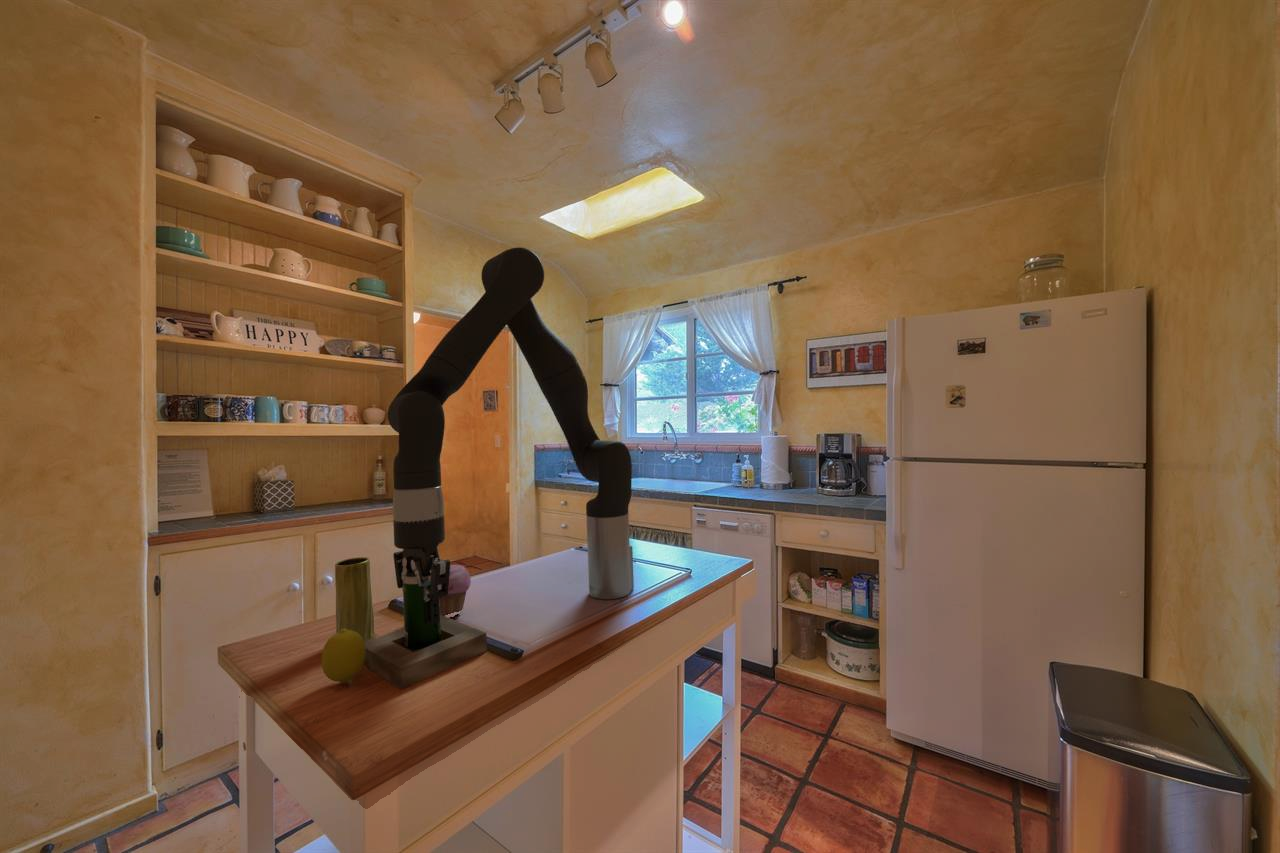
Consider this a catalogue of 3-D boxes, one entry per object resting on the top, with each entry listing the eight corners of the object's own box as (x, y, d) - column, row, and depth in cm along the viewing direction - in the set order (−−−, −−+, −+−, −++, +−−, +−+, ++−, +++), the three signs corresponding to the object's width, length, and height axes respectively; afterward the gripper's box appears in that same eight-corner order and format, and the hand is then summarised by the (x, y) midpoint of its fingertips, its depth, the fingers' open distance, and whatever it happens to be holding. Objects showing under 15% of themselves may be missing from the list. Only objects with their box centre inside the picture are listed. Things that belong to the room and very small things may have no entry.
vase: (337, 653, 81) (334, 568, 81) (332, 641, 86) (329, 561, 85) (378, 642, 85) (375, 560, 85) (371, 631, 89) (368, 554, 89)
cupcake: (420, 614, 97) (418, 564, 97) (464, 603, 102) (462, 556, 102) (431, 628, 90) (429, 574, 90) (477, 616, 95) (476, 565, 95)
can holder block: (441, 631, 88) (440, 614, 88) (486, 651, 80) (486, 632, 80) (359, 662, 77) (358, 644, 77) (401, 689, 69) (401, 668, 69)
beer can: (412, 657, 75) (409, 580, 75) (400, 646, 78) (397, 573, 78) (446, 645, 78) (444, 571, 78) (434, 636, 82) (431, 565, 82)
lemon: (349, 671, 75) (347, 619, 75) (375, 676, 73) (373, 623, 73) (313, 690, 69) (311, 634, 69) (340, 696, 67) (338, 639, 67)
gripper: (464, 515, 77) (468, 621, 77) (419, 508, 86) (422, 603, 86) (419, 523, 71) (423, 638, 71) (374, 515, 80) (378, 617, 80)
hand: (422, 618), depth 78 cm, fingers closed on beer can, 5 cm apart
